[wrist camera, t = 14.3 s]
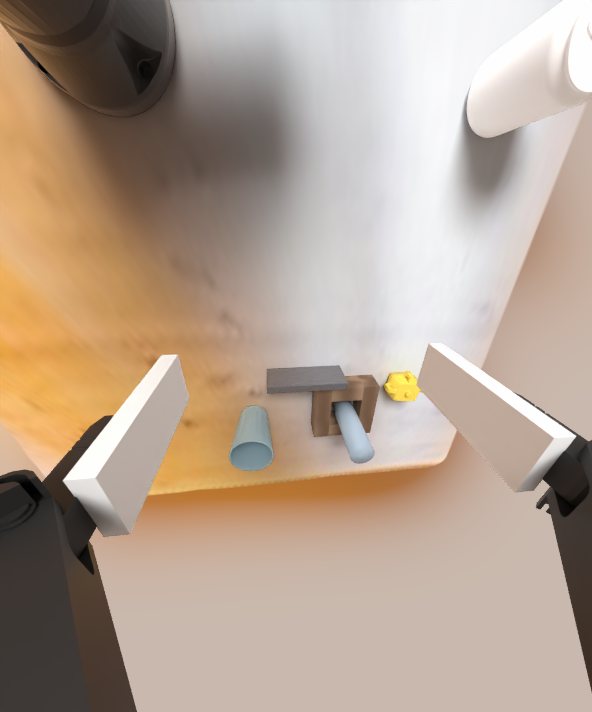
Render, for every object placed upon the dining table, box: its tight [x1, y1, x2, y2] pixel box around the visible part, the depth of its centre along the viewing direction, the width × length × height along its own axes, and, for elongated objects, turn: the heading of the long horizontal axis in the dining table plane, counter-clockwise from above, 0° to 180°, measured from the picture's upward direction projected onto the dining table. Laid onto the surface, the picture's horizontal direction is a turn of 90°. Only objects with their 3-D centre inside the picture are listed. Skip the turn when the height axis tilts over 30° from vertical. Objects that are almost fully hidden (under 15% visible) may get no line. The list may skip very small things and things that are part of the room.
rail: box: [267, 366, 348, 394], centre depth 44 cm, size 14×1×6 cm, turn 90°
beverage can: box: [467, 0, 592, 138], centre depth 25 cm, size 8×8×12 cm
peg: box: [331, 401, 374, 463], centre depth 46 cm, size 4×4×14 cm
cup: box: [229, 406, 274, 471], centre depth 47 cm, size 8×8×10 cm
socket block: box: [311, 375, 380, 437], centre depth 50 cm, size 12×12×4 cm
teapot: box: [384, 371, 423, 401], centre depth 48 cm, size 8×6×5 cm
